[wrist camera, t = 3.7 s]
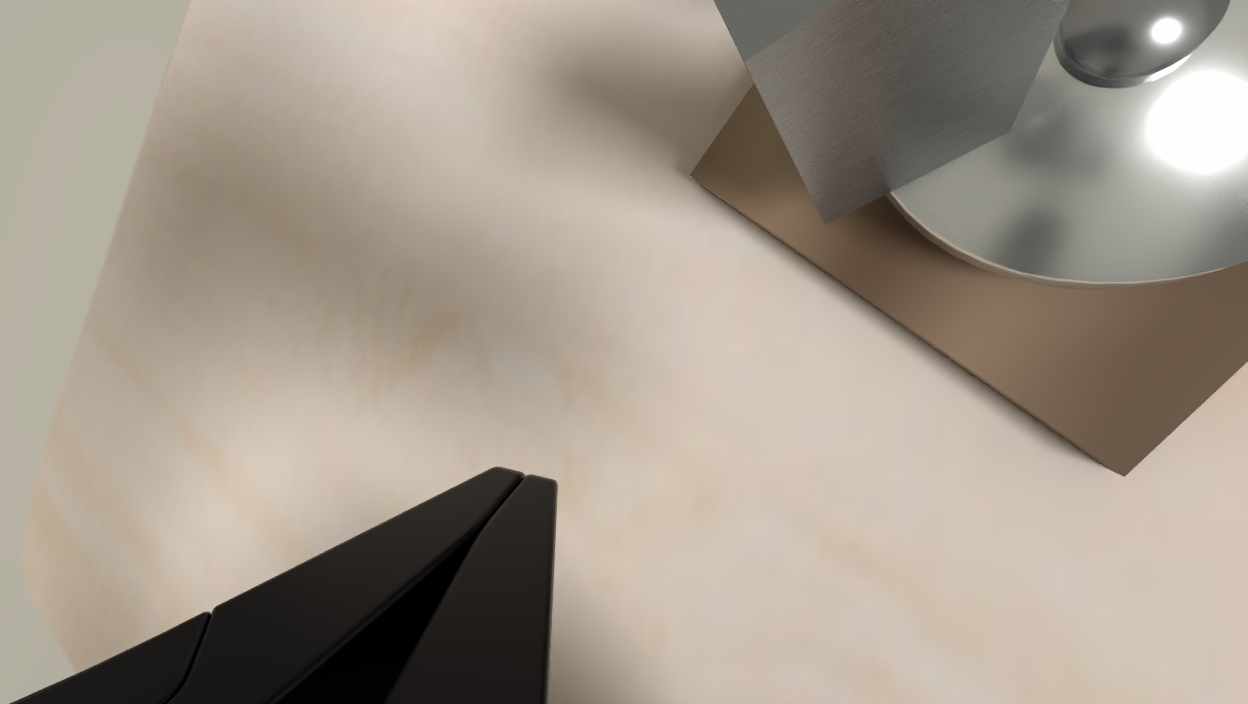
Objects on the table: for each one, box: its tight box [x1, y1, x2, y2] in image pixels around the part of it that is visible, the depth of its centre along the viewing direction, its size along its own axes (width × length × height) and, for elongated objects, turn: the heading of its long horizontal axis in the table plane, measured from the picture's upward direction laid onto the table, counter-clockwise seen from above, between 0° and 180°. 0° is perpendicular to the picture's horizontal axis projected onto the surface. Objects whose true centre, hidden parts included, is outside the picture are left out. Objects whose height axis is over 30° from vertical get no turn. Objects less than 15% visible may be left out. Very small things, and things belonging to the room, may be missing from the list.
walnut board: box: [690, 83, 1248, 477], centre depth 12 cm, size 13×13×5 cm
